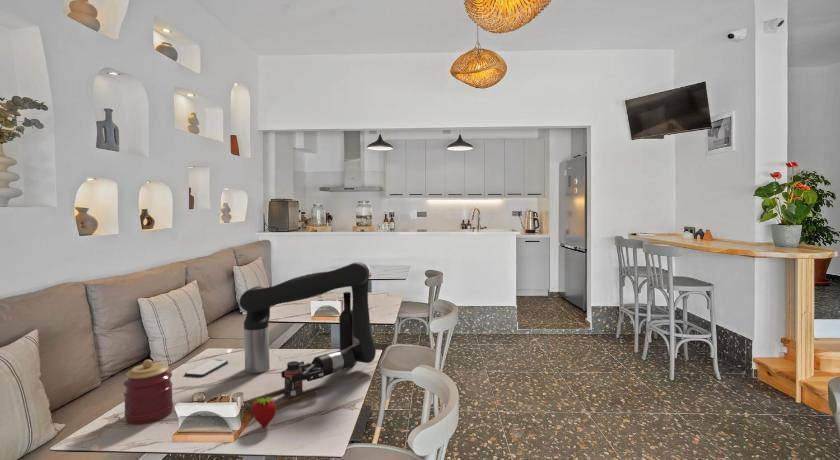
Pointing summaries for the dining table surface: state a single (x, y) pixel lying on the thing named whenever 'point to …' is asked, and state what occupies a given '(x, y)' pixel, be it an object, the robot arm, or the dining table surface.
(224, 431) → the dining table surface
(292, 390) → the supplement bottle
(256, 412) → the strawberry
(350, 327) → the wine bottle
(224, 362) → the phone case
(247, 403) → the walnut track
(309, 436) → the dining table surface
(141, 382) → the canister
